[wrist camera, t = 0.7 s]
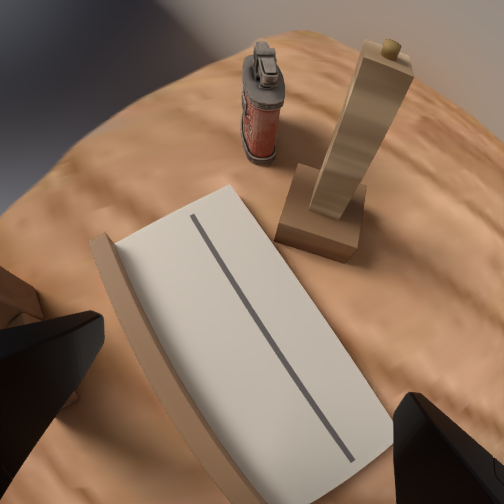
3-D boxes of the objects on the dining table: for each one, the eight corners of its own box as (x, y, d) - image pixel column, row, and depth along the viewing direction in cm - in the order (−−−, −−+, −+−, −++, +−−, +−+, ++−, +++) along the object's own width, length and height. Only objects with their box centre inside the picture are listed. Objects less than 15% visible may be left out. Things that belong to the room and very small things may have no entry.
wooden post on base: (344, 263, 24) (463, 102, 8) (274, 241, 24) (320, 44, 9) (355, 204, 26) (439, 46, 11) (292, 184, 27) (335, 6, 11)
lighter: (238, 111, 31) (240, 32, 21) (268, 110, 31) (278, 32, 22) (244, 166, 27) (248, 76, 18) (280, 164, 28) (296, 77, 18)
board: (392, 433, 18) (415, 438, 15) (260, 520, 15) (264, 541, 12) (230, 194, 26) (229, 168, 23) (105, 260, 23) (88, 241, 20)
